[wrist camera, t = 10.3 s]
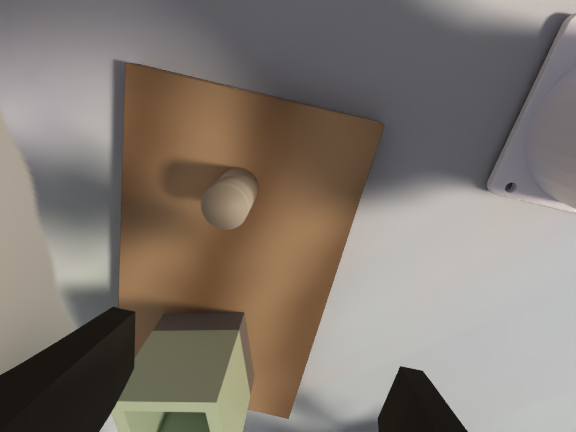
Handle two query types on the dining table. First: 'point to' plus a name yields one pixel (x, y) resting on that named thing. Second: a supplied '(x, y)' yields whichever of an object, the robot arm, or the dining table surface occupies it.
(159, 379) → the sleeve
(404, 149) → the dining table surface
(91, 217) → the dining table surface
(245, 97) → the pin board
